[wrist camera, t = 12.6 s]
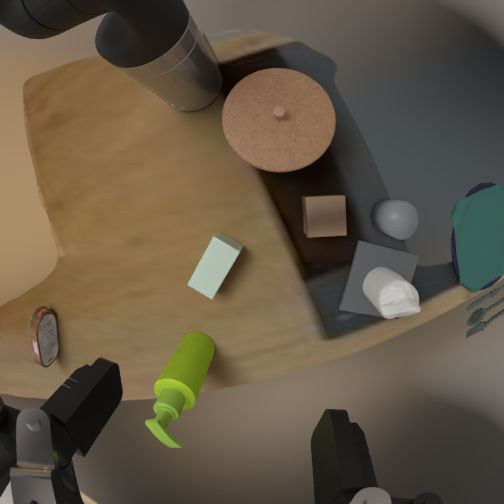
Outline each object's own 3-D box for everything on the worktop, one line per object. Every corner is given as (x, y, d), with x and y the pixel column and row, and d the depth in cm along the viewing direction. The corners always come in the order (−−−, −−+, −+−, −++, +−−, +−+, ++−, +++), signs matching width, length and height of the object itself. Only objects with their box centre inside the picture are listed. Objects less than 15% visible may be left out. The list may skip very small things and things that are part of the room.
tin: (49, 300, 46) (24, 314, 38) (58, 306, 46) (33, 321, 37) (53, 351, 49) (34, 368, 41) (62, 357, 49) (43, 375, 41)
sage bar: (219, 231, 39) (213, 236, 35) (243, 245, 40) (240, 251, 36) (195, 276, 41) (187, 284, 37) (217, 289, 41) (212, 299, 37)
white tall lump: (391, 343, 27) (389, 301, 26) (364, 303, 39) (359, 270, 38) (432, 328, 27) (433, 287, 26) (397, 294, 38) (394, 261, 37)
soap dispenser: (195, 367, 45) (157, 450, 26) (176, 336, 44) (124, 415, 24) (223, 359, 44) (195, 449, 25) (204, 327, 43) (161, 412, 23)
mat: (358, 240, 38) (359, 240, 37) (417, 255, 37) (419, 255, 37) (338, 308, 40) (339, 309, 40) (396, 317, 40) (398, 319, 39)
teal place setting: (502, 171, 32) (510, 172, 30) (511, 305, 38) (516, 308, 36) (436, 197, 35) (443, 198, 33) (451, 344, 41) (456, 349, 39)
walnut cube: (301, 196, 37) (305, 197, 32) (336, 194, 37) (345, 195, 32) (303, 231, 38) (308, 237, 33) (337, 229, 38) (346, 235, 33)
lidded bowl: (280, 78, 33) (280, 42, 23) (340, 138, 35) (363, 120, 24) (215, 131, 36) (193, 111, 25) (275, 194, 37) (275, 196, 27)
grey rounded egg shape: (374, 195, 36) (390, 196, 30) (402, 204, 36) (421, 206, 30) (367, 228, 37) (382, 234, 31) (395, 235, 37) (413, 243, 31)
